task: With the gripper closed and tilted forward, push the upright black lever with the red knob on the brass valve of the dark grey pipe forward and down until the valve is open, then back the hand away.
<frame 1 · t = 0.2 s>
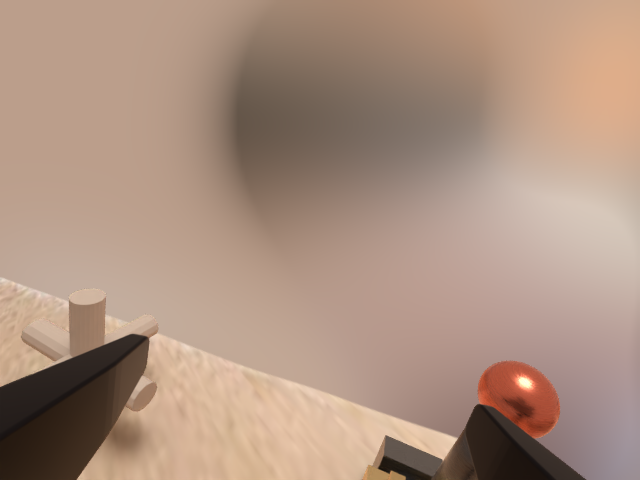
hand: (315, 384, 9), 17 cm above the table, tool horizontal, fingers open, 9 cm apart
valve lever: (460, 473, 14), point 10 cm above the table, hinge at -8.0°
pipe connector: (86, 419, 23), on the table
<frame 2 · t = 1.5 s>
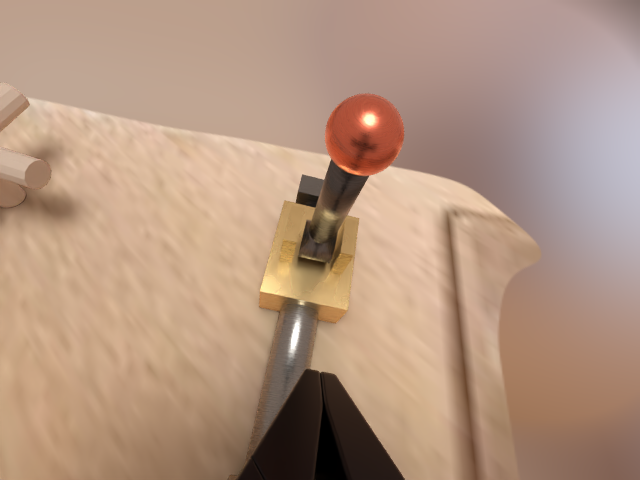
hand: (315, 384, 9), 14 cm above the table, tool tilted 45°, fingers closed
valve pipe: (306, 271, 25), on the table
valve lever: (333, 204, 16), point 10 cm above the table, hinge at -8.0°
pipe connector: (12, 198, 24), on the table
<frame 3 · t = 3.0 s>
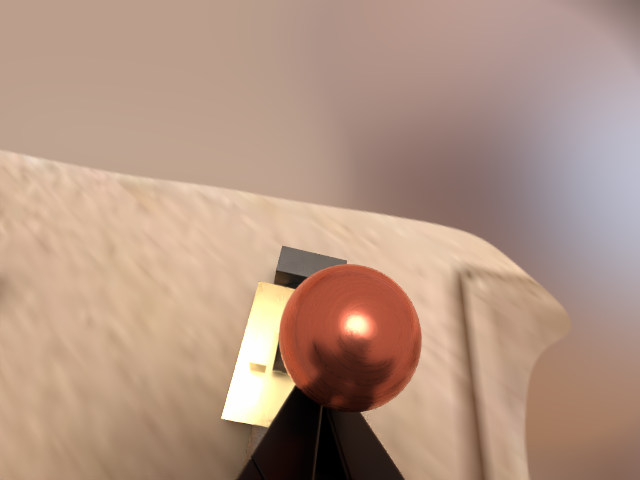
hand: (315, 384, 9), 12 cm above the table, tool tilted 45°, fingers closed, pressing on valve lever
valve pipe: (288, 362, 20), on the table
valve lever: (312, 344, 11), point 10 cm above the table, hinge at -8.0°, touching gripper
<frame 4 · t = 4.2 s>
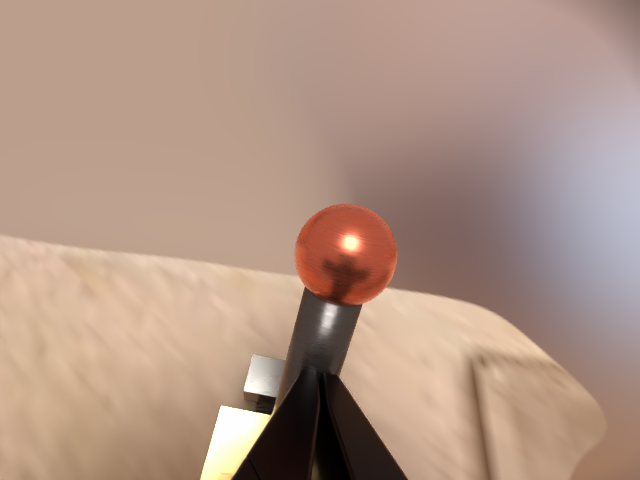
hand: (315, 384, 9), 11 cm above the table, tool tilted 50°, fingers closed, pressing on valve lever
valve lever: (299, 410, 10), point 9 cm above the table, hinge at 40.3°, touching gripper
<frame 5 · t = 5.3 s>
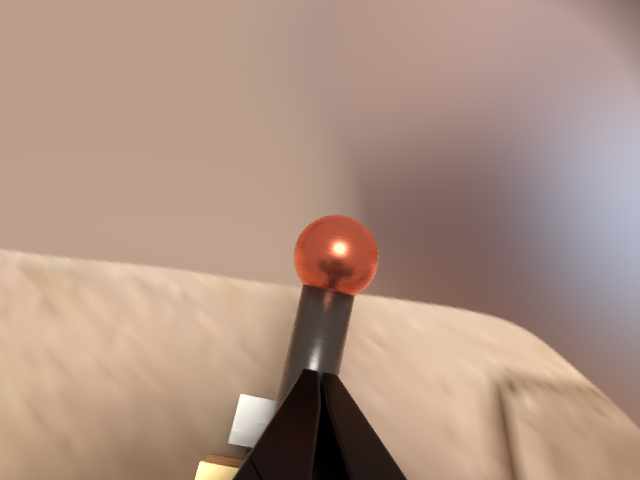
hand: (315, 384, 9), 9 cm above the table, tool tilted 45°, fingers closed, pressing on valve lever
valve lever: (297, 433, 9), point 7 cm above the table, hinge at 66.7°, touching gripper
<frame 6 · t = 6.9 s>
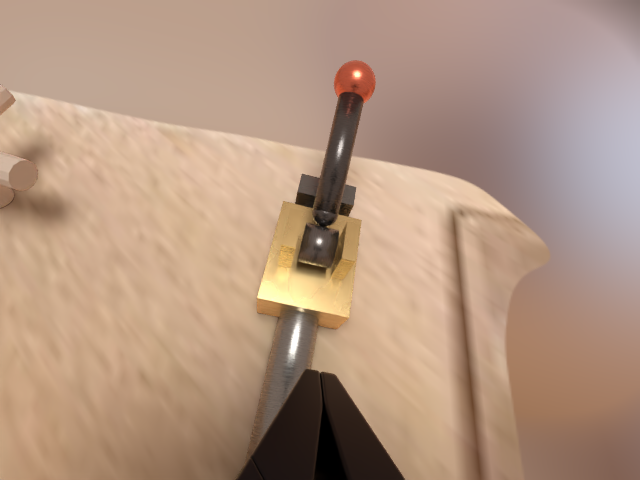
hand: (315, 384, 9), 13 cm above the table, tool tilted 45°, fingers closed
valve pipe: (306, 274, 24), on the table
valve lever: (336, 162, 20), point 7 cm above the table, hinge at 66.9°
pipe connector: (0, 199, 23), on the table
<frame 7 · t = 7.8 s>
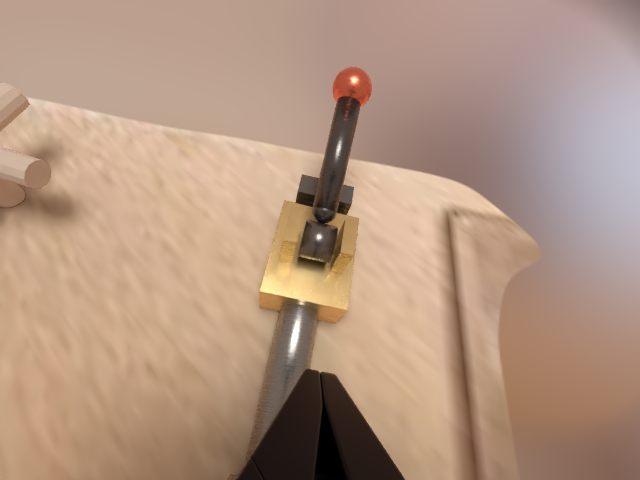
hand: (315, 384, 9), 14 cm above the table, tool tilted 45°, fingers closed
valve pipe: (306, 271, 25), on the table
valve lever: (335, 162, 21), point 7 cm above the table, hinge at 66.9°
pipe connector: (12, 198, 24), on the table
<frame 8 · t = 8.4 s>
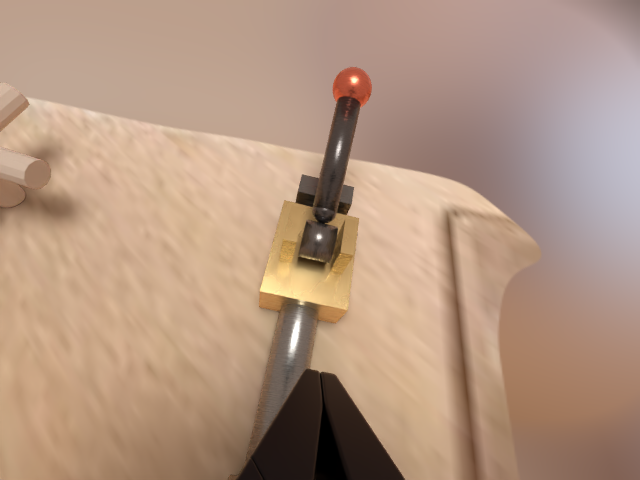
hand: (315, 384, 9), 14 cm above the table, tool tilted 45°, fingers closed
valve pipe: (306, 271, 25), on the table
valve lever: (335, 162, 21), point 7 cm above the table, hinge at 66.9°
pipe connector: (12, 198, 24), on the table
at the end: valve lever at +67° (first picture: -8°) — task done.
